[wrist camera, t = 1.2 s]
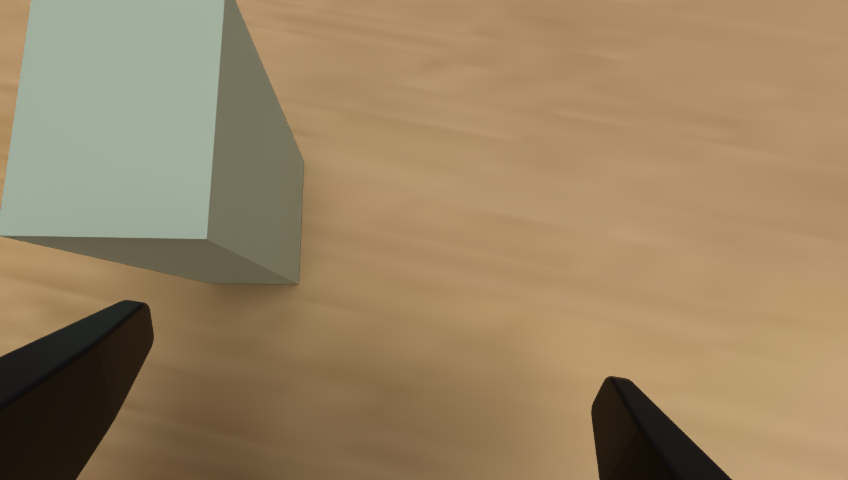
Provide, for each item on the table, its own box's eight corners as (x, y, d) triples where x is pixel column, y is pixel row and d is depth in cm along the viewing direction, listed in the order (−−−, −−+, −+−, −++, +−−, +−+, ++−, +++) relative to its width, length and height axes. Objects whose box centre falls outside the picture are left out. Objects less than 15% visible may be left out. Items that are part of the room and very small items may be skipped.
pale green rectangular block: (298, 284, 23) (206, 239, 10) (210, 283, 22) (-4, 235, 10) (304, 161, 24) (225, -22, 11) (219, 159, 23) (36, -35, 11)
